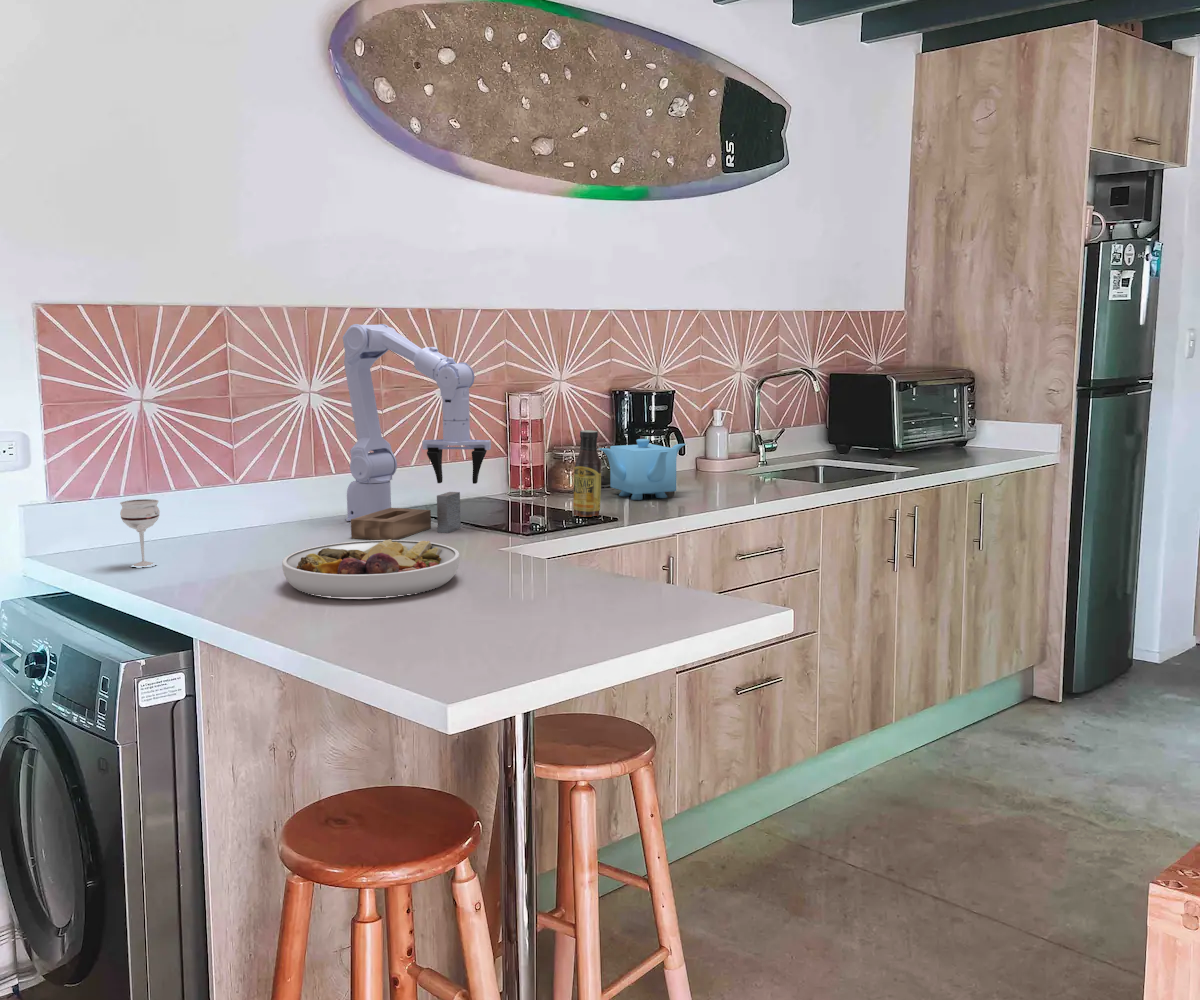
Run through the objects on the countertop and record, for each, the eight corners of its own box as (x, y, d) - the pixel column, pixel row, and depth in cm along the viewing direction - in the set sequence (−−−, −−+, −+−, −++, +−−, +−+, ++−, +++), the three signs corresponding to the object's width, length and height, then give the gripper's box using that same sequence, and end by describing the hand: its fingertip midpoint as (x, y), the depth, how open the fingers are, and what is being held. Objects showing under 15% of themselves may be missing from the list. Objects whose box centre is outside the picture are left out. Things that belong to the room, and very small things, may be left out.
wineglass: (170, 562, 217) (166, 499, 215) (147, 570, 211) (143, 505, 209) (139, 561, 219) (135, 498, 217) (116, 568, 213) (111, 504, 211)
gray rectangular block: (437, 532, 247) (436, 495, 246) (450, 527, 252) (449, 491, 251) (447, 533, 246) (446, 496, 245) (460, 528, 252) (459, 492, 250)
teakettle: (620, 489, 308) (620, 434, 305) (688, 492, 301) (688, 436, 299) (596, 500, 290) (596, 442, 288) (668, 503, 284) (668, 444, 282)
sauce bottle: (568, 517, 264) (567, 431, 261) (581, 513, 270) (580, 429, 267) (593, 519, 261) (593, 432, 258) (606, 515, 267) (605, 430, 264)
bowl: (275, 573, 209) (273, 531, 208) (438, 560, 219) (437, 520, 218) (293, 612, 181) (291, 563, 180) (479, 595, 192) (478, 549, 190)
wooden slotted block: (351, 538, 241) (350, 519, 240) (391, 525, 255) (390, 507, 255) (393, 541, 237) (392, 522, 236) (431, 528, 252) (430, 510, 251)
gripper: (418, 421, 243) (420, 485, 245) (486, 421, 242) (487, 485, 244) (425, 418, 250) (427, 480, 252) (492, 418, 249) (493, 481, 251)
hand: (457, 482), depth 249 cm, fingers open, 7 cm apart
